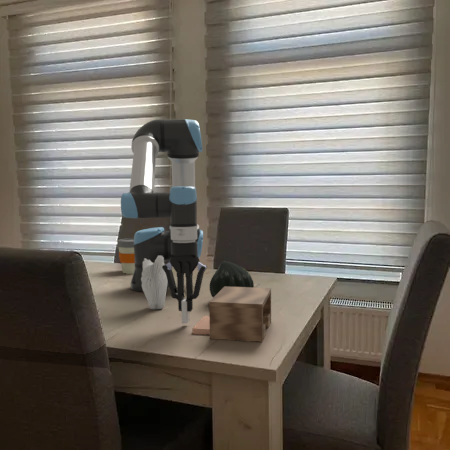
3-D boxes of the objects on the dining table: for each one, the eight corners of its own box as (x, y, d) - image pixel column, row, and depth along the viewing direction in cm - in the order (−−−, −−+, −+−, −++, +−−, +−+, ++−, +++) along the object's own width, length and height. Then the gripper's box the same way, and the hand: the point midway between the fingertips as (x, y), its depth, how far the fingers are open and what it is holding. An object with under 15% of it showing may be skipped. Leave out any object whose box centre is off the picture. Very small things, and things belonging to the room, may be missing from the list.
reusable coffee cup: (132, 275, 206) (131, 242, 204) (112, 273, 213) (111, 240, 211) (152, 271, 216) (151, 239, 215) (132, 268, 223) (131, 237, 222)
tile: (192, 335, 128) (192, 328, 127) (204, 322, 139) (204, 315, 139) (257, 339, 124) (257, 332, 123) (264, 325, 135) (264, 319, 135)
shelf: (209, 338, 123) (209, 301, 122) (224, 318, 141) (224, 286, 140) (262, 342, 120) (262, 304, 119) (271, 321, 137) (271, 288, 136)
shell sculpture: (143, 305, 157) (142, 252, 155) (168, 304, 157) (167, 252, 156) (141, 312, 148) (139, 256, 147) (167, 311, 149) (166, 256, 147)
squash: (266, 289, 154) (247, 252, 162) (228, 297, 147) (210, 258, 154) (249, 309, 165) (232, 273, 172) (212, 318, 157) (196, 280, 164)
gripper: (157, 242, 129) (159, 324, 132) (203, 243, 127) (204, 327, 129) (166, 238, 137) (168, 317, 139) (209, 239, 134) (210, 319, 136)
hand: (185, 321), depth 134 cm, fingers closed
